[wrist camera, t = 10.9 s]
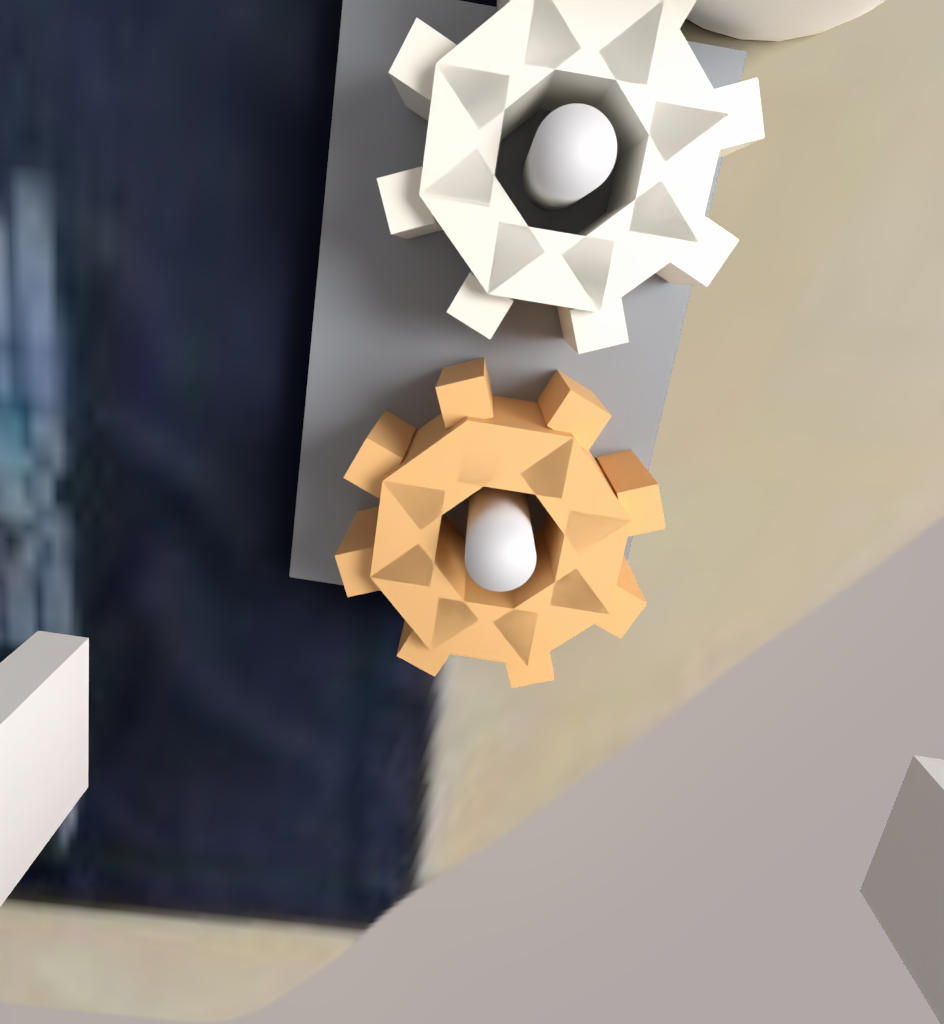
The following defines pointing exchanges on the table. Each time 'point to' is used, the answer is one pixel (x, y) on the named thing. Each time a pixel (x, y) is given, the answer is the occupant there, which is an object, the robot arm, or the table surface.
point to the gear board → (435, 283)
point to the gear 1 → (640, 156)
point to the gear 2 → (509, 466)
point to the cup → (776, 17)
